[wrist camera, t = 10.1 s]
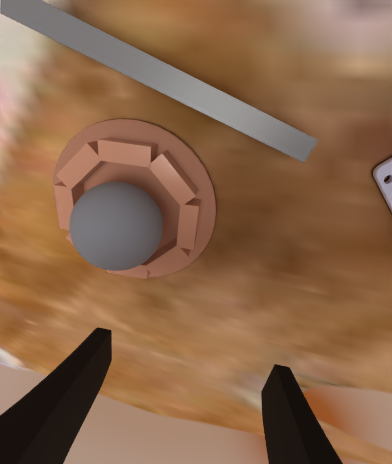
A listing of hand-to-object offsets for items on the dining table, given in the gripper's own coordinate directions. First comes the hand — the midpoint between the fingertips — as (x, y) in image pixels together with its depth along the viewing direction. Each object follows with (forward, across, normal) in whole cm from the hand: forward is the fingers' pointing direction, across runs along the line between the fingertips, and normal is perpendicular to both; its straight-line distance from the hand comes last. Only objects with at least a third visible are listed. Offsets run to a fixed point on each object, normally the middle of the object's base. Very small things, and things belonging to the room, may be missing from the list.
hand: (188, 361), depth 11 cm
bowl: (+9, +6, -3) cm, 11 cm away
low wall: (+9, +4, -11) cm, 15 cm away
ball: (+6, +6, -3) cm, 9 cm away
